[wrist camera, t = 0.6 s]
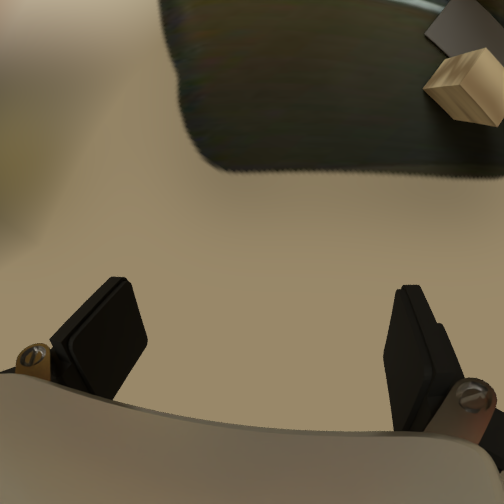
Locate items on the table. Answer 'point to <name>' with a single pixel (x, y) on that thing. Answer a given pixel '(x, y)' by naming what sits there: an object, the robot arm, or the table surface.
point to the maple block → (470, 87)
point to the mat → (467, 30)
